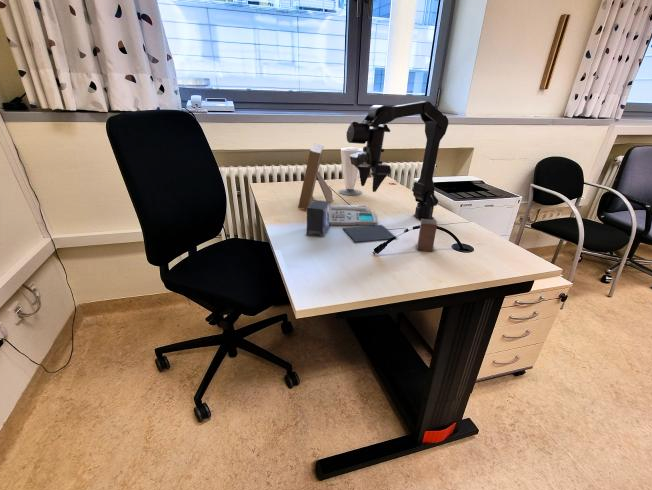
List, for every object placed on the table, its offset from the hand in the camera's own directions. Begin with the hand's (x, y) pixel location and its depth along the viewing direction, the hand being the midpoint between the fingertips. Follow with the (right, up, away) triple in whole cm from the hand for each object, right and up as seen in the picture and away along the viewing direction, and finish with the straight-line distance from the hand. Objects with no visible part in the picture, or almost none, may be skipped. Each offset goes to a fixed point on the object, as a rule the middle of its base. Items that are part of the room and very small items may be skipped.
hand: (368, 188), depth 128 cm
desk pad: (0, -17, -1) cm, 17 cm away
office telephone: (-6, -8, +16) cm, 19 cm away
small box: (-19, -16, 0) cm, 25 cm away
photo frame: (-21, +2, +32) cm, 38 cm away
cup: (-5, +12, +51) cm, 52 cm away
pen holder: (+18, -24, -12) cm, 32 cm away
